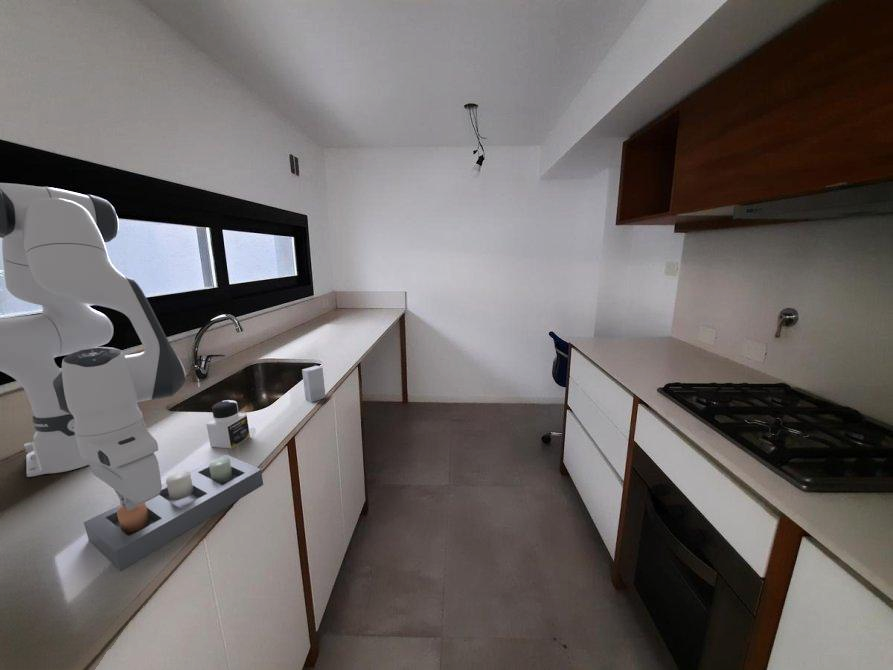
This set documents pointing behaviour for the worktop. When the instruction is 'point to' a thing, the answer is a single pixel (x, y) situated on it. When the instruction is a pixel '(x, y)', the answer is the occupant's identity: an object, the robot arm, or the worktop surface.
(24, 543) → the worktop surface
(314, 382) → the skincare box
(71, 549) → the worktop surface
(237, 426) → the medicine bottle
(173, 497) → the button cream
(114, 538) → the tray
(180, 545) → the worktop surface
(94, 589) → the worktop surface
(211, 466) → the button sage
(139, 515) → the button terracotta
